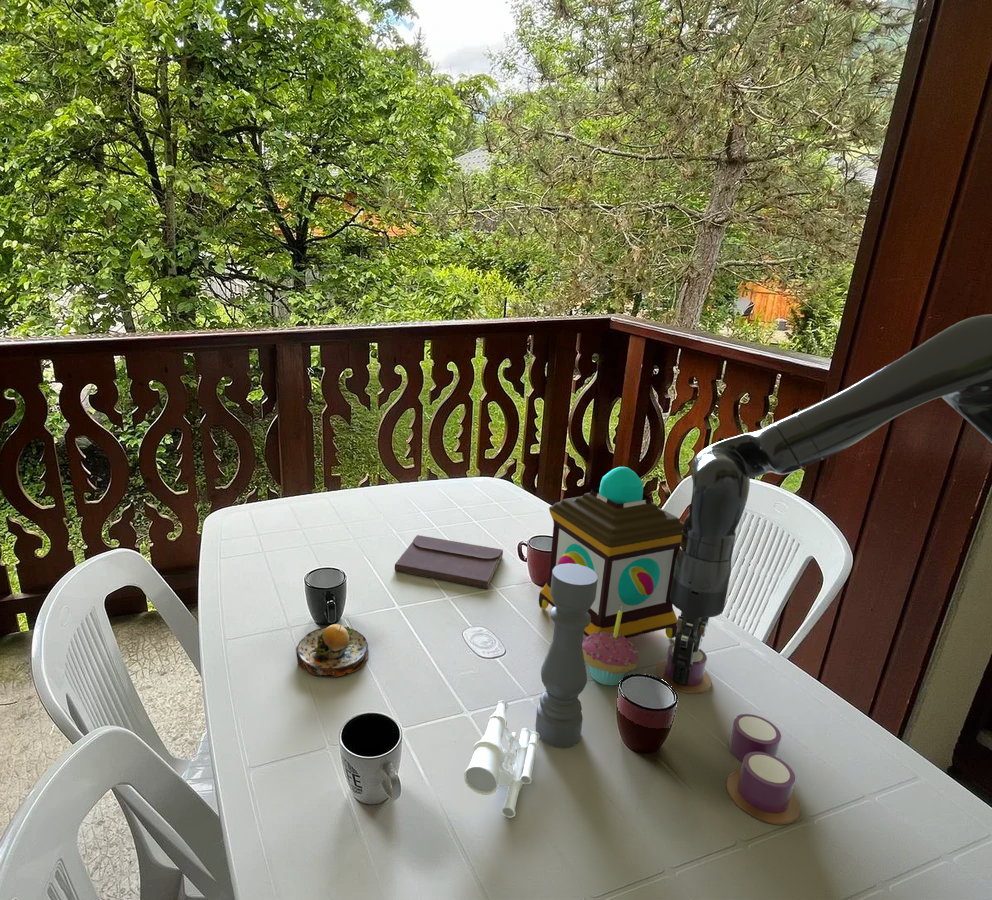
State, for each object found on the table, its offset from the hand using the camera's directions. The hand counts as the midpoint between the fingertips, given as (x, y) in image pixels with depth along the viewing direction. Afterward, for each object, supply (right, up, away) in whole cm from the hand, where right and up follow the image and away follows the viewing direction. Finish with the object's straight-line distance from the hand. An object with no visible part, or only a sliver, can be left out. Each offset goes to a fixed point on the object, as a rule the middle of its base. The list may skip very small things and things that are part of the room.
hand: (684, 671), depth 101 cm
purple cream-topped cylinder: (0, -1, 0) cm, 0 cm away
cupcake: (-12, -1, 0) cm, 12 cm away
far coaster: (0, -1, 0) cm, 1 cm away
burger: (-56, +1, +5) cm, 56 cm away
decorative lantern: (-8, +4, +15) cm, 17 cm away
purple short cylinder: (0, -8, -22) cm, 23 cm away
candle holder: (-23, -5, -11) cm, 26 cm away
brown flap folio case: (-34, +11, +35) cm, 50 cm away
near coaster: (0, -8, -22) cm, 23 cm away
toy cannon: (-32, -7, -18) cm, 37 cm away
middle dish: (+2, -6, -15) cm, 16 cm away
